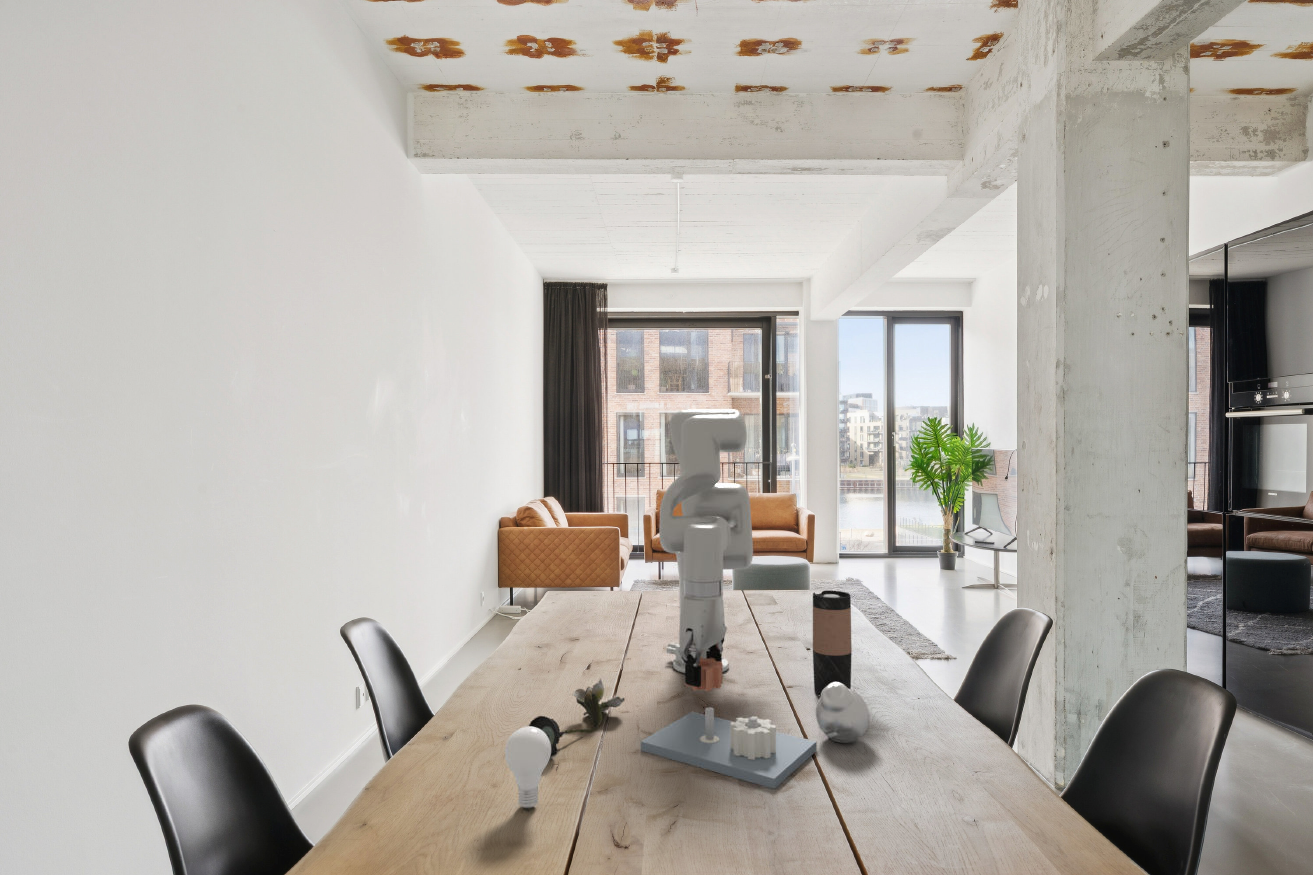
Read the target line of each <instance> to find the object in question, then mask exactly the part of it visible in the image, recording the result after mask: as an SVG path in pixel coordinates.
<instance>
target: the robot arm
mask: <svg viewBox="0 0 1313 875" xmlns="http://www.w3.org/2000/svg"><path fill="white" fill-rule="evenodd" d="M669 434H670V440H671V444H672V448H673V451H674V453H675V454H674V455H675V456H676V460H677V461H678V464H679V467H680V475H679V476H678V477H676V479H675V480H673V482H672V483H671V484H670V485H669V486H668V488H667V490H665V493H664V494H663V497H662V499H661V502H660V507H659V526H658V528H659V542H660V545H661V547H662V549H663V550H664V552H667V553H669V554H675V555H676V556H675V557H676V562H677V570H678V571H677V572H678V584H679V585H678V588H679V590H678V592H679V595H678V596H679V629H678V631H679V632H678V633H679V634H678V643H677V642H676V643H675V642H669V643H668V644H667V647H666V653H667V654H671V655H674V656H675V659H673V661H672V667H673V669H675V670H676V671H678V672H680V673H684V679H685V680H684V684H685V683H686V684H687V685H691V686H695V687H700V686H701V666H699V662H700V657H702V658H707V659H709V658H714V659H715V660H716V661H717V662H718V661H721V662H722V673H723V672H725V671H727V670H728V669H729V666H730V665H729V664H730V663H729V660H728V659H727V658H725V657H723V652H724V647H723V645H724V643H725V636H726V633H727V630H728V627H727V626H726V625H725V621H726V620H725V606H724V598H723V597H724V570H745V569H747V568H749V567H750V566H751V564H752V562H753V556H754V544H753V543H754V542H753V528H752V514H751V513H752V511H751V502H750V501H751V500H750V496H749V493H748V490H747V488H746V487H745V486H743V485H742V484H740V483H739V484H738V483H730V482H729V483H724V482H723V483H720V482H719V481H720V479H721V477H722V472H721V471H722V470H721V459H720V458H721V457H720V456H721V453H740V452H741V453H742V451H743V450H744V449H745V448H746V445H747V439H748V438H747V437H748V433H747V426H746V422H745V419H744V417H743V415H742V413H741V412H740V411H739V410H737V409H728V408H727V409H726V408H725V409H721V408H719V409H717V408H716V409H711V408H710V409H701V408H699V409H698V408H697V409H685V410H680V411H677V412H675V413H674V414H673V415H672V416H671V418H670V421H669ZM679 504H681V512H682V515H674V510H675V508H676V507H677V506H678V505H679ZM691 686H690V687H691Z"/></svg>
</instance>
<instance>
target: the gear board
mask: <svg viewBox="0 0 1313 875" xmlns="http://www.w3.org/2000/svg"><path fill="white" fill-rule="evenodd" d="M704 709H705V710H704V712H705V714H704V713H703V714H702V713H698V712H696V711H695V712H694V711H691V712H689V713H688V714H685V715H684V716H683V717H682V716H681V718H679V719H677V720H676V721H673V722H672V723H670V724H668V725H667V726H665V727H663V728H661V729H659V730H658V731H657V732H655V733H653V734H651V735H649V736H648V737H646V738H644V739H642V740H641V741H640V751H642V752H645V753H649V754H651V755H655V756H659V757H662V758H666V759H669V760H672V761H676V762H679V763H683V762H684V764H686V763H687V765H689V764H691V765H690V766H693V765H694V766H693V767H696V766H698V767H697V768H700V767H701V768H700V769H703V768H705V769H704V770H707V769H709V770H708V771H710V770H711V771H712V772H714V771H715V773H717V772H718V774H721V775H725V776H728V777H731V776H732V777H731V778H734V779H738V780H742V781H746V782H747V783H748V782H749V783H752V784H756V785H760V786H762V787H766V788H769V789H773V790H775V789H776V788H777V787H778V786H780V785H781V783H783V782H784V781H785V780H787V778H788V777H789V776H790V775H792V774H793V773H794V772H795V771H796V770H797V769H798V768H799V767H800V766H802V765H803V764H804V763H805V762H806V761H807V760H808V759H809V758H810V757H811V756H812V755H814V754H815V753H816V752H817V751H818V750H817V749H818V748H817V741H816V740H812V739H807V738H803V737H799V736H795V735H791V734H786V733H782V732H780V731H776V753H771V757H770V758H767V759H765V758H763V757H760V758H756V757H755V760H751V759H748V757H744V756H743V755H741V756H736V755H734V750H731V748H730V724H731V722H734V721H733V720H728V719H725V718H719V717H715V714H714V713H715V708H714V707H706V708H704ZM748 718H749V719H748V722H749V728H757V718H751V717H748ZM816 750H817V751H816ZM814 752H815V753H814Z"/></svg>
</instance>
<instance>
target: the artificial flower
mask: <svg viewBox="0 0 1313 875" xmlns="http://www.w3.org/2000/svg"><path fill="white" fill-rule="evenodd" d="M604 693H605V687H604V683H603V680H602V678H599V680H598V682H596V683H595V684H594V685H592V687H590V686H587V687H586V689H583V688H577V689H576V690H575V691H574V692H573V694H572V696H574V697H575V699H576V703H577V704H579V705H580V706H581V707H582V708H584V709H585V712H584V713H583V715H582V716H583V717H585V716H587V715H588V717H589V719H590V721H591V724H592V727H593V728H589V729H588V728H587V729H585V728H583V729H582V728H581V729H578V728H576V729H574V728H571V729H568V730H565V731H561V729H560V726H559V724H558V723H557V721H555V720H554V718H550V717H548V716H546V715H539V716H537V717H535V718H534V719H532V720H531V721H530V723H529V724H528V726H532V727H536V728H539V729H541V730H542V731H543V732H544V733H545V734H546V735H547V736H548V738H549V740H550V744H551V755H550V758H551V757H555V756H556V755H557V754H558V747H557V745H558V744H559V743H560V739H561V738H563V736H564V735H565V734H566V735H567V734H573V733H593V732H595V731H596V730H598V728H599V726H600V724H601V723H602V721H603V715H602V712H603V713H604V712H606V711H608V710H609V709H610V708H617V707H620V706H621V704H622V703H624V702H625V700H626V699H625V697H620V695H619V696H615V697H613V698H610V699H608V700H607V701H602V702H601V703H600V701H601V700H602V699H603V697H604Z"/></svg>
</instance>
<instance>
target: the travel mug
mask: <svg viewBox="0 0 1313 875" xmlns="http://www.w3.org/2000/svg"><path fill="white" fill-rule="evenodd" d="M851 602H852V599H851V594H850V593H849V592H846V591H840V590H832V589H831V590H822V591H821V593H815V592H812V664H813V666H812V668H813V686H814V688H813V689H814V693H816V694H815V695H817V696H818V695H820V696H821V692H822V690H823V689H824V688H825V687H826V686H828V685H829V684H830V683H833V682H839V683H842V684H844V685H845V686H846V687H847V688H848V689H851V688H852V684H851V683H852V655H853V654H852V652H853V650H852V649H853V648H852V606H851V604H852V603H851ZM851 690H852V689H851ZM820 696H819V697H820Z"/></svg>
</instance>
